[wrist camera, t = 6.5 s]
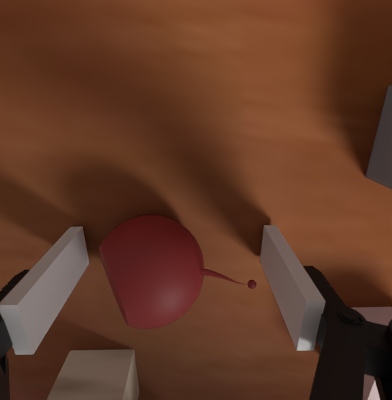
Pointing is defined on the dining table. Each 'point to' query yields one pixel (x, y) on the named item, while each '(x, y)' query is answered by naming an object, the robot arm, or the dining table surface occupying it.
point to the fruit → (154, 270)
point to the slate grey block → (383, 146)
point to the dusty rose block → (381, 317)
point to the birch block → (97, 376)
